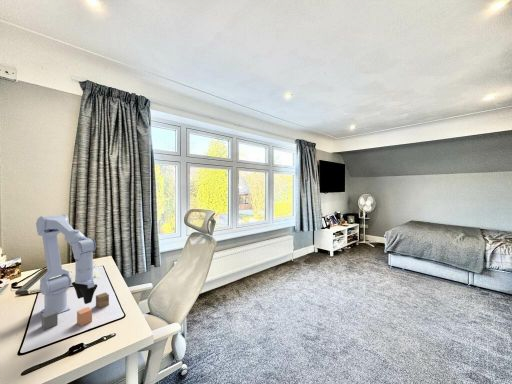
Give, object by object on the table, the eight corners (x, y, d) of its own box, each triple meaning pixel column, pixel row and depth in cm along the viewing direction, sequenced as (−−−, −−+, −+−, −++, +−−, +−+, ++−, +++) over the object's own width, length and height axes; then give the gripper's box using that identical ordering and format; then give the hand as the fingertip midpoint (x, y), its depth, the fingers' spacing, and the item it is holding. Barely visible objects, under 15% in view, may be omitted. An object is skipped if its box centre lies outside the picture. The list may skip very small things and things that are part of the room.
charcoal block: (41, 326, 90) (41, 314, 89) (54, 321, 93) (54, 309, 93) (44, 329, 87) (44, 317, 87) (57, 324, 91) (57, 312, 91)
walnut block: (95, 305, 105) (95, 295, 105) (105, 302, 109) (105, 292, 108) (99, 308, 103) (99, 298, 103) (108, 304, 106) (108, 294, 106)
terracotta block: (76, 322, 92) (76, 311, 92) (88, 318, 95) (88, 306, 95) (80, 326, 90) (80, 314, 90) (92, 321, 93) (92, 309, 93)
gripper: (102, 269, 91) (102, 301, 92) (88, 262, 100) (88, 291, 100) (82, 274, 86) (82, 308, 86) (69, 266, 94) (69, 298, 94)
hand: (84, 300), depth 92 cm, fingers open, 7 cm apart
